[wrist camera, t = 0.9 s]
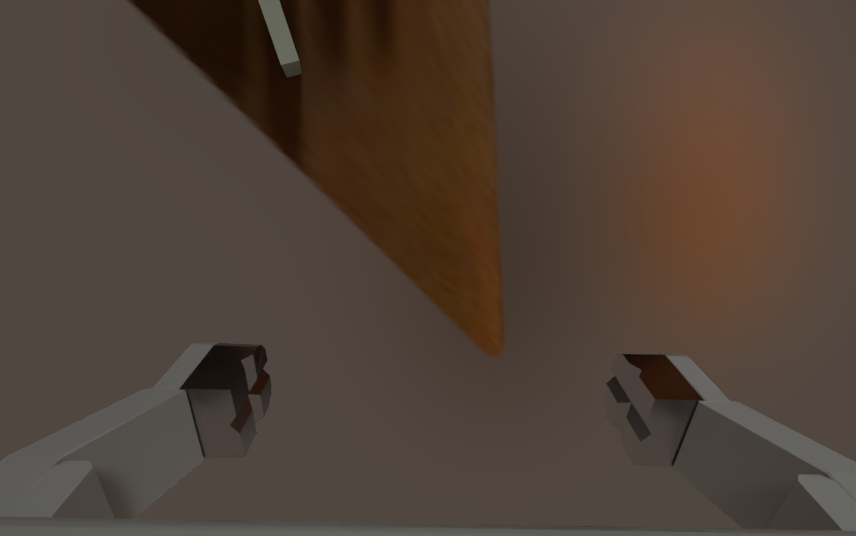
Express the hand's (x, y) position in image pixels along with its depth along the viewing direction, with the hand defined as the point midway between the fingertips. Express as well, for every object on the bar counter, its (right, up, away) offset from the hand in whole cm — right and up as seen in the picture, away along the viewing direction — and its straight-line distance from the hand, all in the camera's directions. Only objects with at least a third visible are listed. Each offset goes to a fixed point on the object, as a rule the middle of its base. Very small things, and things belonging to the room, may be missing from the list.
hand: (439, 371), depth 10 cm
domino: (-13, +23, +29) cm, 39 cm away
